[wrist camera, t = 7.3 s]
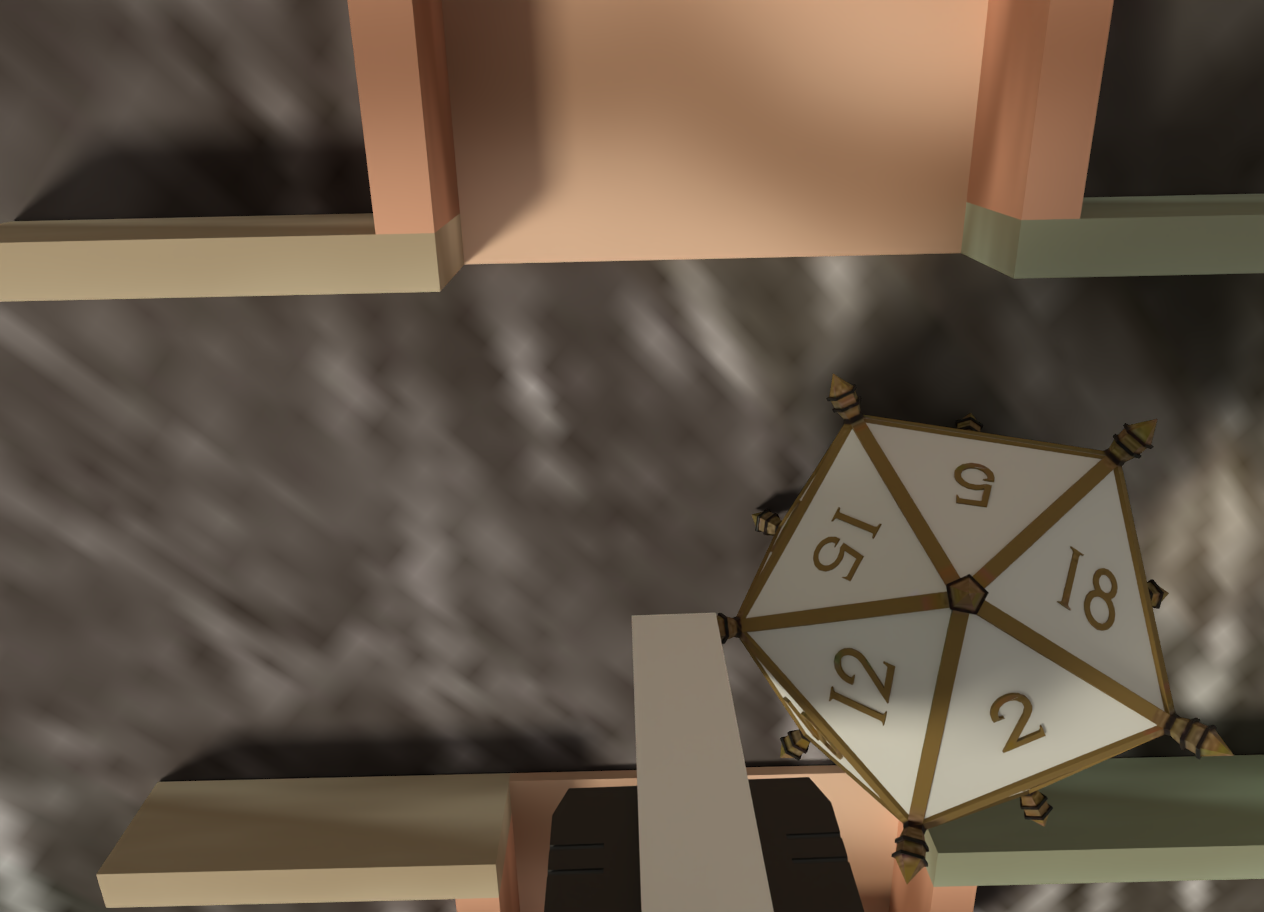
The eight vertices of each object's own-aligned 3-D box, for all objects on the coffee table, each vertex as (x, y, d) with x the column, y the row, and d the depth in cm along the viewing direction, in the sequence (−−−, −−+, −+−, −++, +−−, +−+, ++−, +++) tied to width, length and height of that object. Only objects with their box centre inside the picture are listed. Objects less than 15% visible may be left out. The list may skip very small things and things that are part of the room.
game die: (916, 432, 24) (1372, 592, 17) (758, 717, 24) (1160, 1003, 17) (742, 245, 18) (1347, 377, 11) (522, 628, 18) (1007, 1025, 11)
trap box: (1309, 925, 26) (1497, 1154, 20) (202, 953, 26) (87, 1191, 20) (1653, -99, 17) (2167, -193, 11) (-63, -64, 17) (-406, -139, 11)
